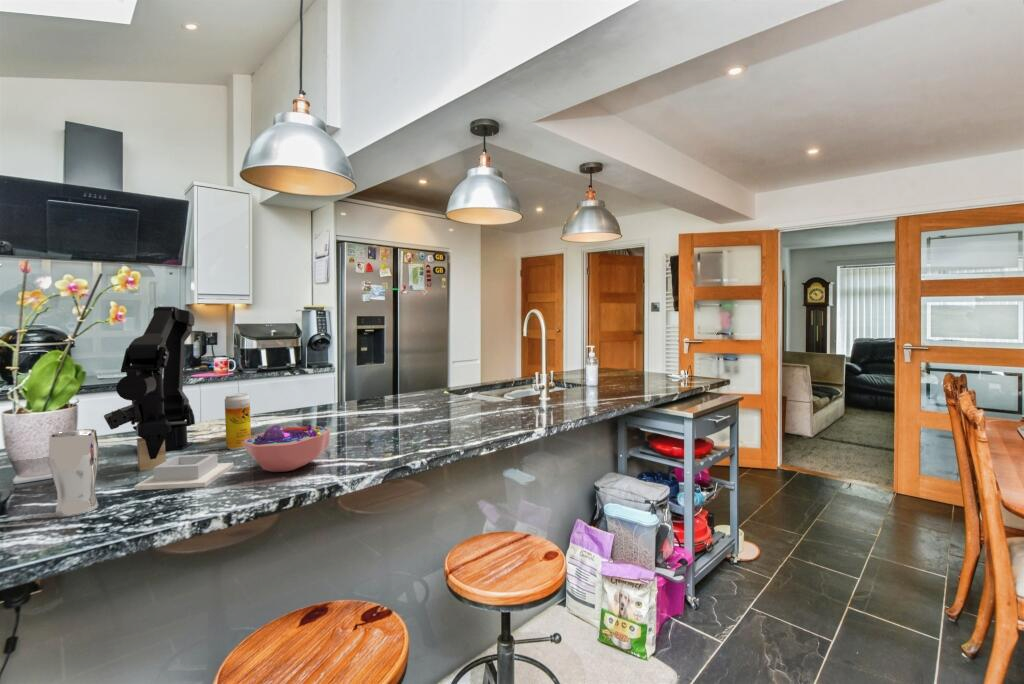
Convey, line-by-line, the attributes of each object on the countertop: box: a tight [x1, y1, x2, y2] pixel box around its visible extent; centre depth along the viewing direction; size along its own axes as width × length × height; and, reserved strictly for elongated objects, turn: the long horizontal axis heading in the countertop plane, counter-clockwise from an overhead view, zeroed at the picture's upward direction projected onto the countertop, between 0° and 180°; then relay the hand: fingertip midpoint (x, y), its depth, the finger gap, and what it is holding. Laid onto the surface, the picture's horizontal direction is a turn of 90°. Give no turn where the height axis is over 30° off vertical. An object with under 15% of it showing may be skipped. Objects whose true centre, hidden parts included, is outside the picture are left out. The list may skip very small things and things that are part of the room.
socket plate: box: [133, 453, 235, 491], centre depth 109 cm, size 14×14×4 cm
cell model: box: [242, 424, 331, 473], centre depth 116 cm, size 17×20×11 cm
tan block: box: [136, 437, 167, 472], centre depth 117 cm, size 5×5×7 cm
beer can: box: [224, 392, 252, 451], centre depth 134 cm, size 6×6×15 cm
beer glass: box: [48, 428, 100, 518], centre depth 90 cm, size 7×7×15 cm
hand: (151, 456), depth 117 cm, fingers closed on tan block, 5 cm apart
